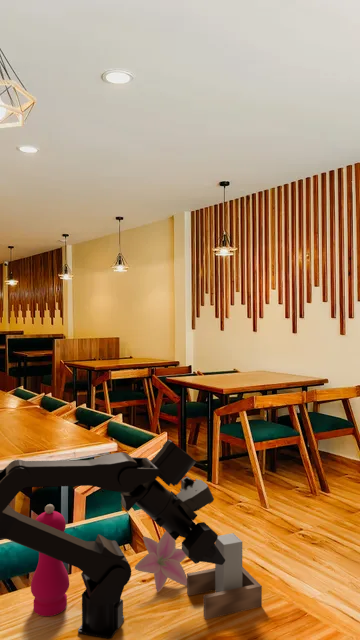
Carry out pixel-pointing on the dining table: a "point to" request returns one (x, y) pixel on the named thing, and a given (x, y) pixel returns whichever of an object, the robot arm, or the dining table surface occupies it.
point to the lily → (163, 561)
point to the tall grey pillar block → (229, 563)
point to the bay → (224, 593)
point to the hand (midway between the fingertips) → (213, 551)
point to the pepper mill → (50, 573)
